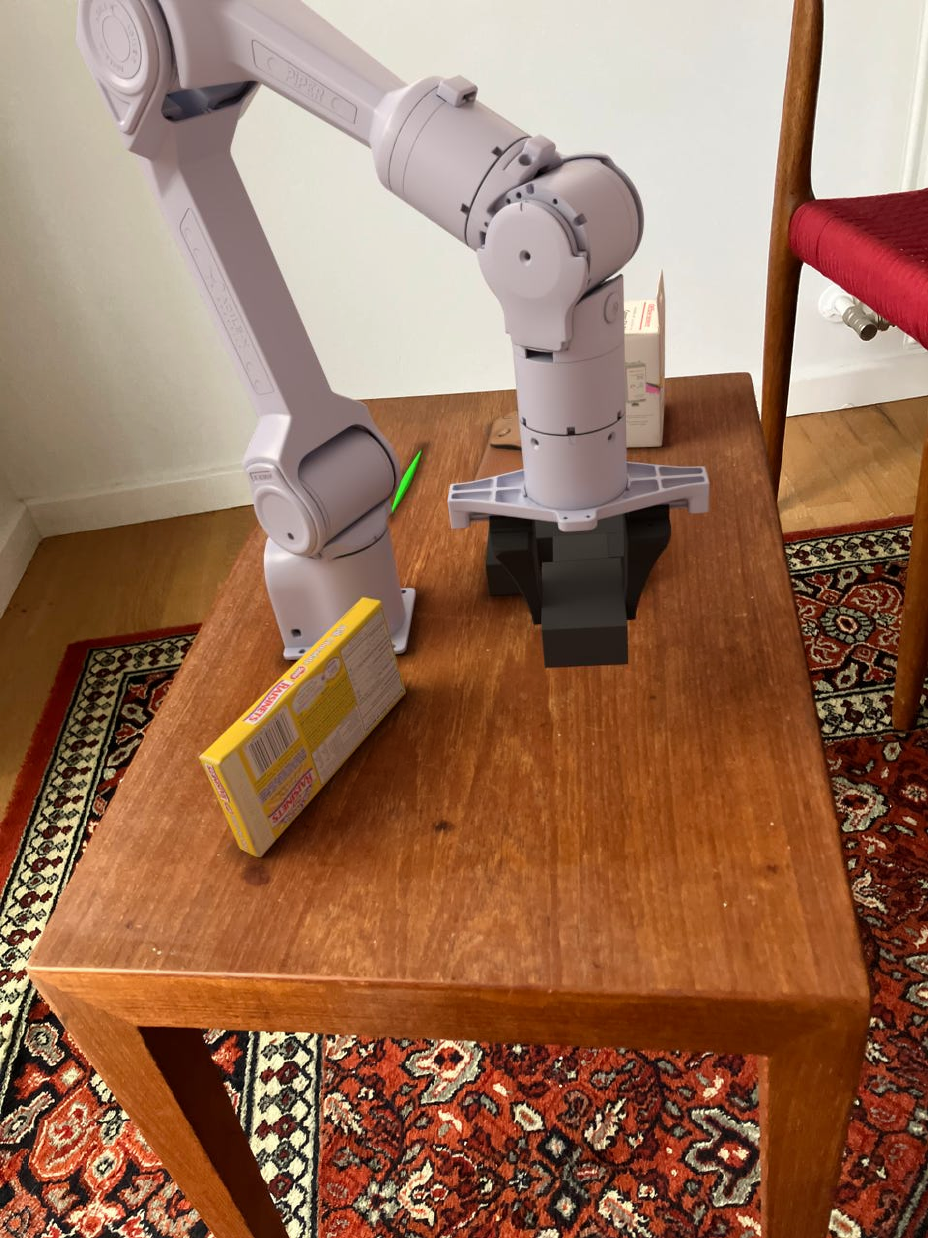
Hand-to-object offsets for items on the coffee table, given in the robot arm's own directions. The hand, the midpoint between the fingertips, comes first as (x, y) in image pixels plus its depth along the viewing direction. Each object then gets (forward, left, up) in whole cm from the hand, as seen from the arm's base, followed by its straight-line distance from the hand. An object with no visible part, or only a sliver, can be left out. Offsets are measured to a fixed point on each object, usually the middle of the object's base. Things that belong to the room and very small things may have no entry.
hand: (582, 612), depth 59 cm
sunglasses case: (-5, +36, -9) cm, 37 cm away
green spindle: (-16, +34, -9) cm, 39 cm away
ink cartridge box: (+7, +41, -9) cm, 42 cm away
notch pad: (-1, +17, -8) cm, 19 cm away
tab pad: (0, +1, -1) cm, 2 cm away
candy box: (-17, -4, -9) cm, 20 cm away
